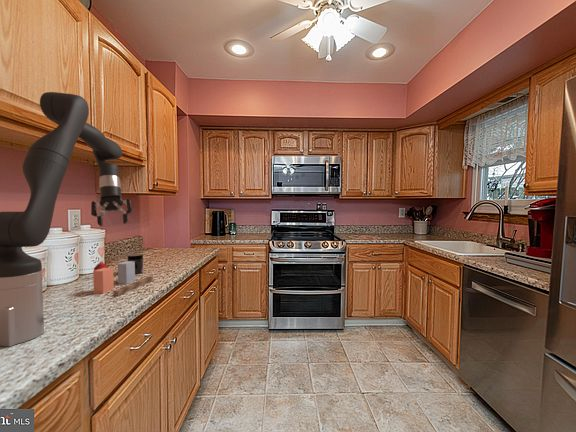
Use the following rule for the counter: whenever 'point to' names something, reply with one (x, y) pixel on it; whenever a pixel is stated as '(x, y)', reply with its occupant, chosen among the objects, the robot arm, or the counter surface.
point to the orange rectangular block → (103, 280)
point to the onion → (100, 266)
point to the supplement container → (136, 262)
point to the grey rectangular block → (126, 272)
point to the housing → (132, 286)
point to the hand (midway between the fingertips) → (113, 224)
